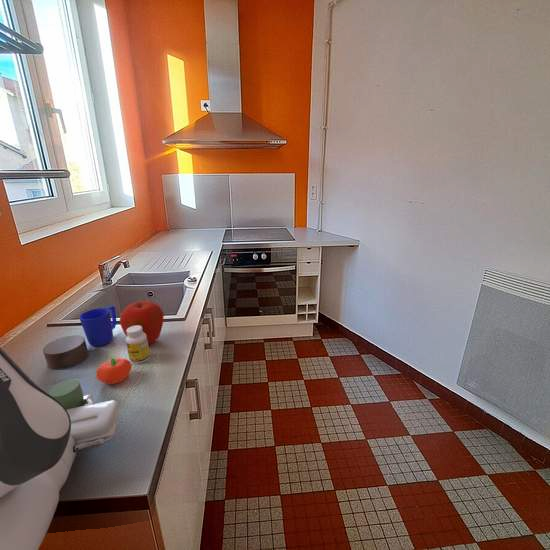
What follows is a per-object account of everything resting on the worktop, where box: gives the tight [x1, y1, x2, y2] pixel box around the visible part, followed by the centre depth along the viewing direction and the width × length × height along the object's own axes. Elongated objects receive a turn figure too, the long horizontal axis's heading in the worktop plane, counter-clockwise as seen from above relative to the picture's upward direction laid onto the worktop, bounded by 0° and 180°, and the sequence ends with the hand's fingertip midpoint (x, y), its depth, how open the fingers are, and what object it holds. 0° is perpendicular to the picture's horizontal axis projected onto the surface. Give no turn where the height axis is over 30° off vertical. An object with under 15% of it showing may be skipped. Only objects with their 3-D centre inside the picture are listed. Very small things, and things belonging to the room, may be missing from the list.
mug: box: [78, 305, 117, 347], centre depth 96 cm, size 8×12×10 cm
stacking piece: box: [47, 378, 84, 410], centre depth 61 cm, size 5×5×9 cm
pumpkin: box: [95, 357, 133, 385], centre depth 77 cm, size 7×8×6 cm
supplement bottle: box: [125, 325, 151, 365], centre depth 85 cm, size 5×5×10 cm
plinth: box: [42, 334, 90, 371], centre depth 86 cm, size 10×10×5 cm
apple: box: [119, 300, 165, 345], centre depth 92 cm, size 12×12×14 cm
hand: (70, 400), depth 61 cm, fingers closed on stacking piece, 5 cm apart
